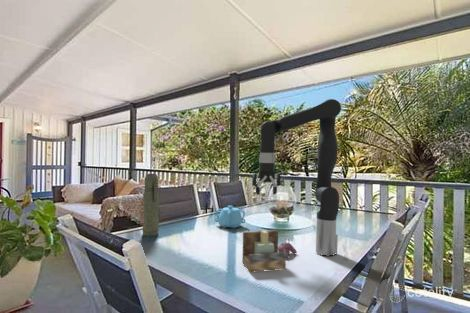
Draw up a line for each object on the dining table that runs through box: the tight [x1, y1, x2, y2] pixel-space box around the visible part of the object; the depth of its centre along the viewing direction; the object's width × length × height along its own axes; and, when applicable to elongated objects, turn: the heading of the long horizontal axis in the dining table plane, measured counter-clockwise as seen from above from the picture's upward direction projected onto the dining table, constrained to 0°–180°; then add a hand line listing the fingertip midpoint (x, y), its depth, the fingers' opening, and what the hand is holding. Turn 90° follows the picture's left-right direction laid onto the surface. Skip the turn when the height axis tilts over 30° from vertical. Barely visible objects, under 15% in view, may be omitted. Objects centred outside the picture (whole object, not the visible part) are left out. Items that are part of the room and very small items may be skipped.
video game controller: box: [278, 242, 297, 259], centre depth 145 cm, size 10×5×7 cm, turn 142°
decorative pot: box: [214, 205, 246, 229], centre depth 198 cm, size 16×16×14 cm
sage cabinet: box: [254, 229, 274, 254], centre depth 130 cm, size 7×5×11 cm
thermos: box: [142, 173, 160, 238], centre depth 174 cm, size 9×12×35 cm
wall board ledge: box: [241, 229, 287, 273], centre depth 130 cm, size 16×10×14 cm, turn 105°
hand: (266, 194), depth 150 cm, fingers open, 8 cm apart
